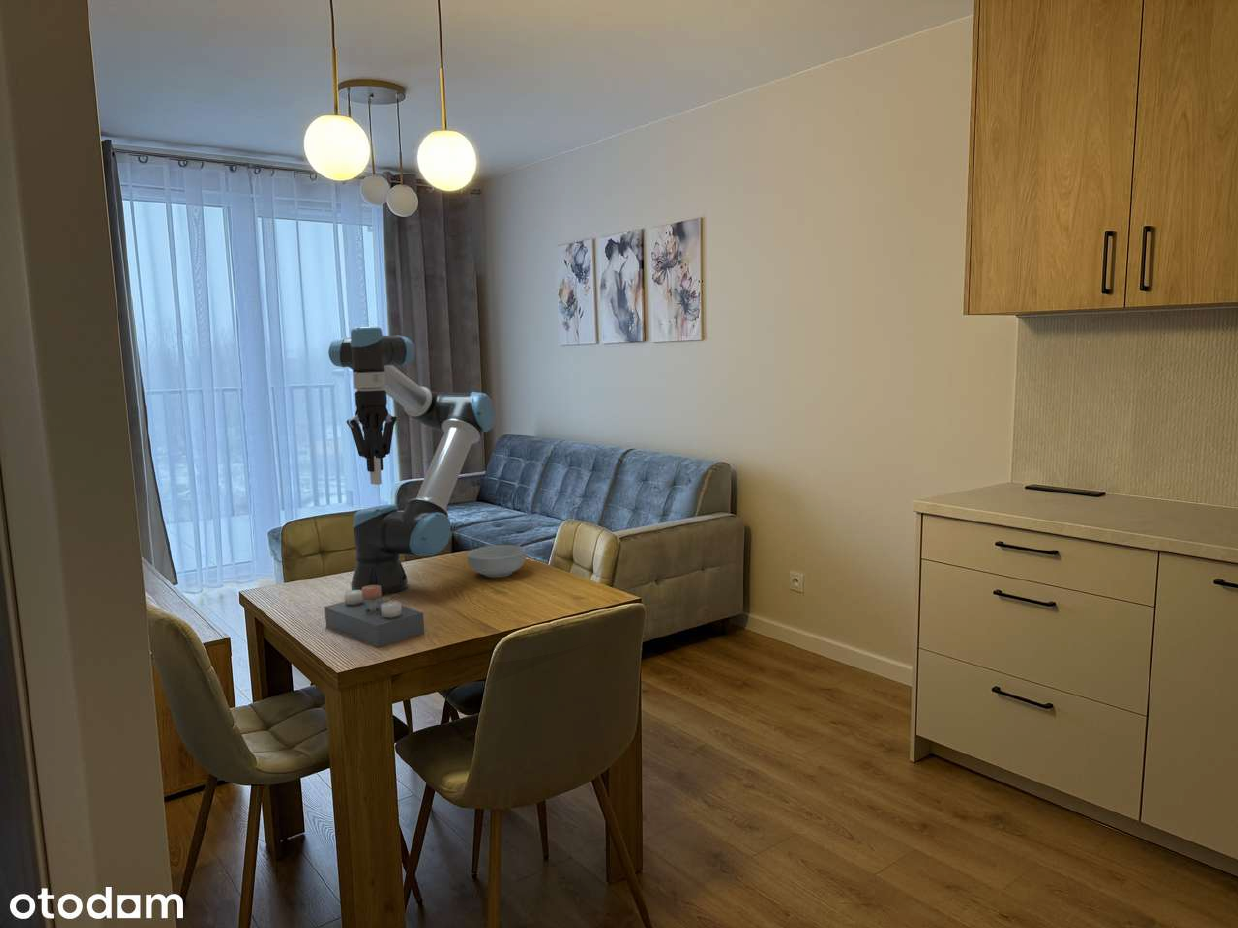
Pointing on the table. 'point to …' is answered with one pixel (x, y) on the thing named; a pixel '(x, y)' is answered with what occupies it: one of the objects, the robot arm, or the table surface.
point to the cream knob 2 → (391, 609)
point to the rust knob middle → (371, 595)
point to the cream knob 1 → (353, 597)
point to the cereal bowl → (497, 560)
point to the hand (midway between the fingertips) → (376, 483)
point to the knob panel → (373, 623)
